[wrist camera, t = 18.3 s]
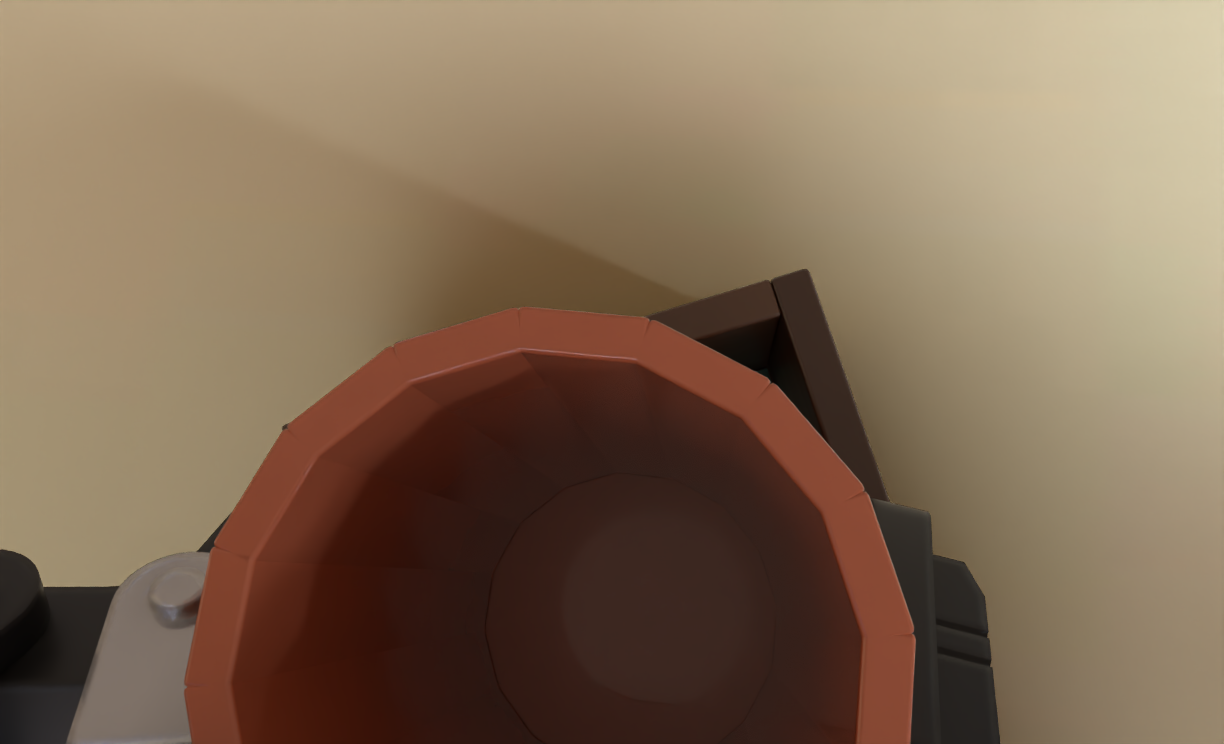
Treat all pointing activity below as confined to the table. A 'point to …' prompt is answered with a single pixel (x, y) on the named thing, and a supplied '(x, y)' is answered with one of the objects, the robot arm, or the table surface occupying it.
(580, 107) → the table surface
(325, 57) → the table surface
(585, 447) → the cup
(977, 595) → the robot arm
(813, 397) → the dark brown open box
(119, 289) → the table surface
